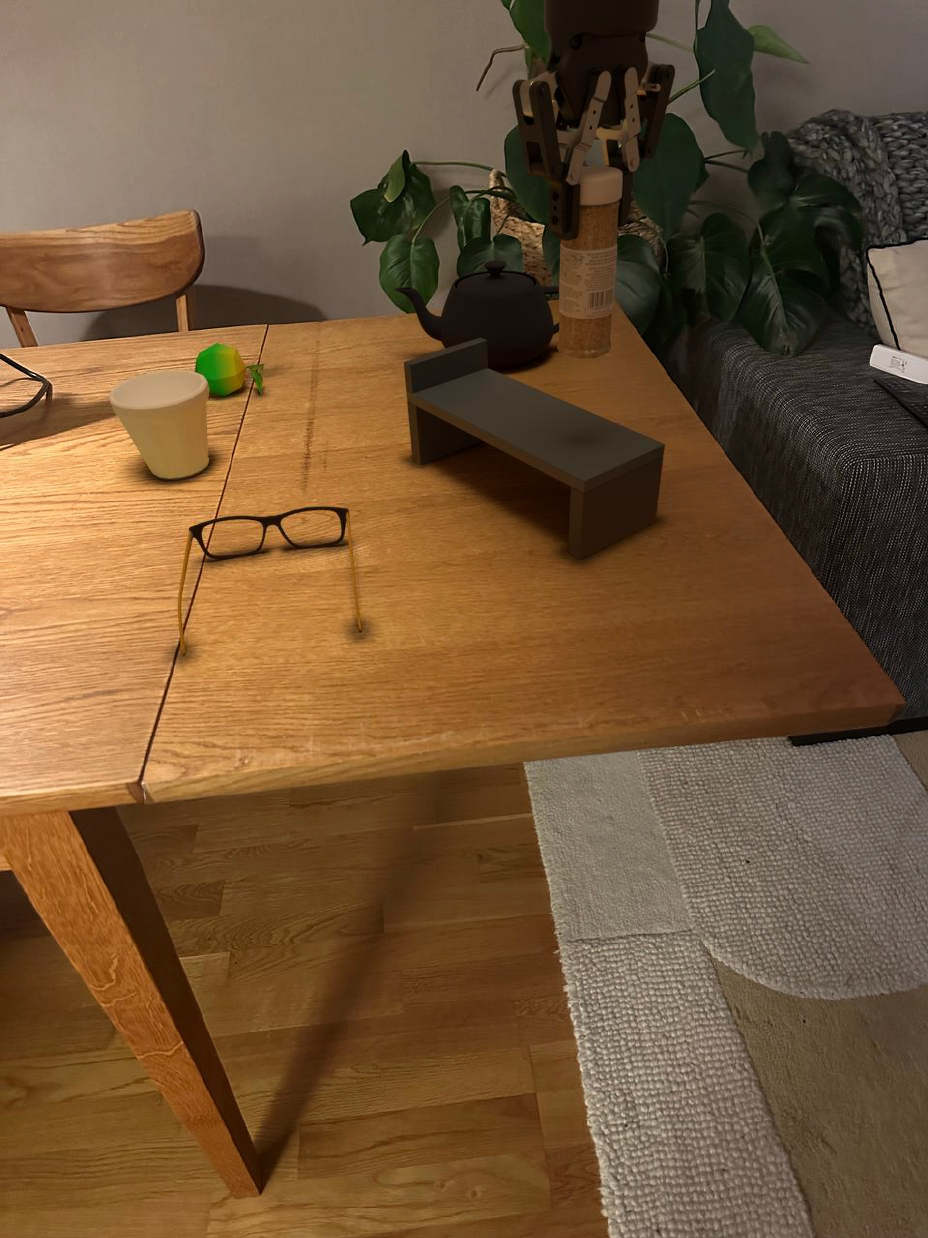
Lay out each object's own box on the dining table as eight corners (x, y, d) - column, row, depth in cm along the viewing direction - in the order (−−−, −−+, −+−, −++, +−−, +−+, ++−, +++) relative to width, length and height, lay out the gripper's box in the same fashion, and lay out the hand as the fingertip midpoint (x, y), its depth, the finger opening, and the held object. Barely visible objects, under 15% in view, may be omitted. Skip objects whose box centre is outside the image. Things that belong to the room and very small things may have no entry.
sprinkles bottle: (599, 338, 70) (610, 161, 61) (619, 357, 66) (633, 172, 58) (549, 345, 69) (552, 167, 61) (565, 363, 66) (572, 178, 57)
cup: (242, 469, 88) (223, 388, 83) (153, 500, 84) (126, 416, 78) (205, 439, 95) (185, 361, 89) (121, 466, 90) (94, 386, 84)
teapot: (572, 331, 118) (575, 241, 110) (590, 371, 106) (595, 273, 98) (401, 341, 118) (393, 251, 110) (399, 382, 106) (390, 285, 98)
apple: (184, 337, 101) (256, 330, 101) (199, 356, 107) (267, 350, 108) (189, 393, 101) (262, 386, 101) (204, 408, 107) (272, 402, 107)
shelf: (656, 521, 77) (669, 411, 70) (580, 560, 72) (586, 448, 65) (483, 432, 93) (480, 337, 86) (412, 460, 88) (403, 361, 82)
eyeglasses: (353, 537, 76) (347, 501, 74) (362, 632, 65) (356, 592, 63) (199, 556, 75) (189, 519, 73) (182, 656, 64) (168, 616, 61)
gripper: (563, -60, 46) (554, 260, 56) (724, -65, 52) (689, 222, 63) (479, -53, 50) (486, 241, 61) (636, -58, 57) (618, 208, 68)
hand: (589, 230), depth 62 cm, fingers closed on sprinkles bottle, 4 cm apart
